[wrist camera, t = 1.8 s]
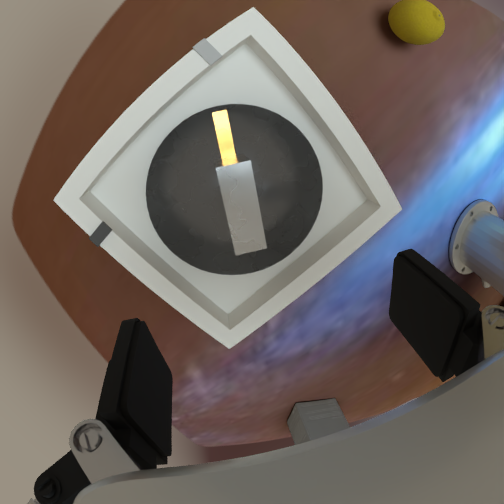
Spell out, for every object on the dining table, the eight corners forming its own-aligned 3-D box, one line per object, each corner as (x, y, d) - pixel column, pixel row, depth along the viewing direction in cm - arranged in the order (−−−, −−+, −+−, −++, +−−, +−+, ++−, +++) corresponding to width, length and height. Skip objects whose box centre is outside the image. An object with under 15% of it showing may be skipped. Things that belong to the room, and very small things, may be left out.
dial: (324, 247, 31) (347, 275, 26) (175, 282, 30) (171, 318, 25) (304, 93, 24) (330, 87, 18) (130, 129, 23) (109, 133, 18)
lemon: (381, 46, 24) (425, 35, 17) (371, 5, 22) (412, -15, 15) (417, 51, 24) (462, 44, 17) (408, 11, 22) (450, -2, 15)
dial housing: (379, 196, 32) (403, 210, 27) (225, 323, 36) (229, 351, 32) (245, 22, 22) (253, 5, 17) (72, 187, 26) (50, 201, 22)
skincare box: (285, 420, 49) (306, 491, 34) (296, 398, 46) (322, 476, 32) (326, 416, 50) (351, 481, 36) (339, 394, 48) (370, 464, 33)
